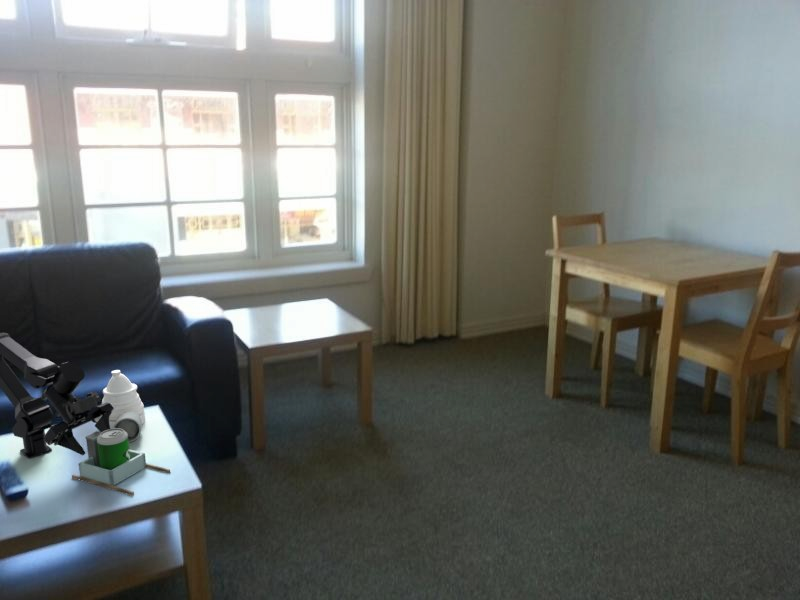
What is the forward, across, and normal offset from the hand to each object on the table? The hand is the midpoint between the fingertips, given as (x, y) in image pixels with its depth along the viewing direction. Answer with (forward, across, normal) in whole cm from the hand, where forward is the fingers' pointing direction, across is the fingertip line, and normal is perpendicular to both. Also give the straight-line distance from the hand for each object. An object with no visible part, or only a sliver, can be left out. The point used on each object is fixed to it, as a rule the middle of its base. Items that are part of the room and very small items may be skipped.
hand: (98, 447), depth 179 cm
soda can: (+9, 0, +1) cm, 9 cm away
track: (+10, 0, -1) cm, 10 cm away
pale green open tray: (+7, 0, +2) cm, 7 cm away
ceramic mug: (-2, +17, +12) cm, 21 cm away
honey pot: (-8, +25, +18) cm, 32 cm away
